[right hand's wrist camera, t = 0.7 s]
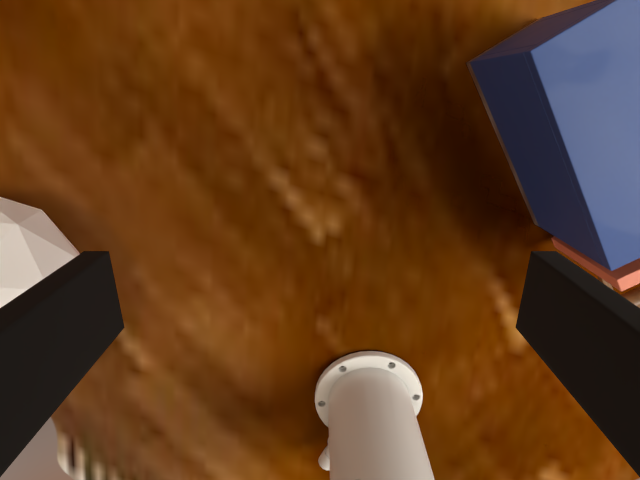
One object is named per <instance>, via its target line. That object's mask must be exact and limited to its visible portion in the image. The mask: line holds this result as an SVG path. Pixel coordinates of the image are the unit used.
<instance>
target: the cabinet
mask: <svg viewBox="0 0 640 480" xmlns="http://www.w3.org/2000/svg"><path fill="white" fill-rule="evenodd" d="M466 65H467V67H468V69H469V72H470V74H471V76H472V79H473V81H474V83H475V86H476V88H477V90H478V93H479V95H480V98H481V100H482V102H483V105H484V107H485V109H486V112H487V114H488V116H489V119H490V121H491V123H492V126H493V128H494V130H495V133H496V135H497V138H498V140H499V142H500V145H501V147H502V149H503V152H504V154H505V156H506V159H507V161H508V163H509V166H510V168H511V170H512V173H513V175H514V178H515V180H516V182H517V185H518V187H519V189H520V192H521V194H522V196H523V199H524V201H525V203H526V206H527V208H528V210H529V213H530V215H531V218H532V220H533V222H534V224H535V225H537V226H538V227H541V228H542V229H544V230H546V231H547V232H549V233H550V234H552V235H554V236H555V237H557V238H558V239H560V240H562V241H563V242H565V243H566V244H568V245H570V246H571V247H573V248H574V249H576V250H578V251H579V252H581V253H583V254H584V255H586V256H587V257H589V258H591V259H592V260H594V261H595V262H597V263H599V264H600V265H602V266H604V267H605V268H607V269H608V270H610V271H613V270H615V269H617V268H619V267H621V266H624V265H626V264H628V263H630V262H632V261H634V260H636V259H639V258H640V0H596V1H593V2H590V3H587V4H584V5H581V6H578V7H574V8H571V9H568V10H565V11H562V12H559V13H556V14H553V15H550V16H547V17H542V18H539V19H537V20H536V21H534V22H532V23H531V24H529V25H527V26H526V27H524V28H522V29H521V30H519V31H517V32H516V33H514V34H512V35H511V36H509V37H508V38H506V39H504V40H503V41H501V42H499V43H498V44H496V45H494V46H493V47H491V48H489V49H488V50H486V51H484V52H483V53H481V54H479V55H478V56H476V57H475V58H473V59H471V60H470V61H468V62H466Z"/></svg>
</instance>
